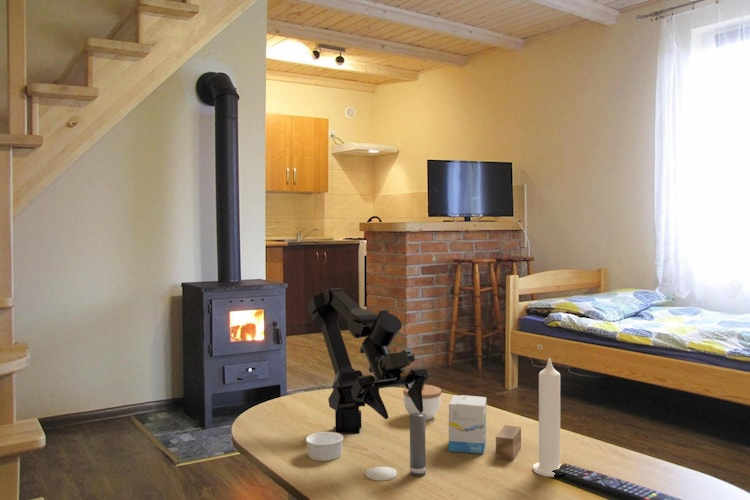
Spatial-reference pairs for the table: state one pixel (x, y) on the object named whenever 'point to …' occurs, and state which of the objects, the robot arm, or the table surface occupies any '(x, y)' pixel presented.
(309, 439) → the ramekin
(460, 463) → the table surface
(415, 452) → the grey tapered rod
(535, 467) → the candle
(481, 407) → the ink box
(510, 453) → the brown wooden block
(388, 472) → the pad
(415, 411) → the lidded jar
